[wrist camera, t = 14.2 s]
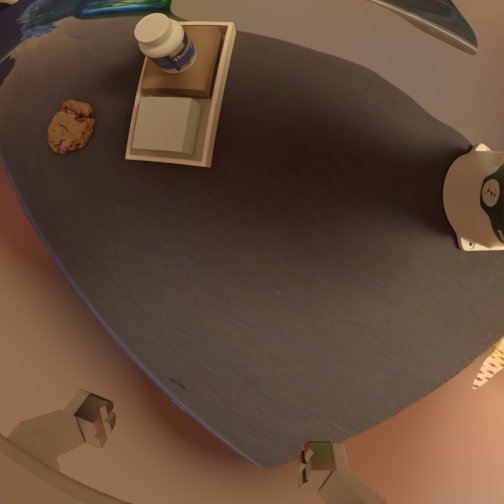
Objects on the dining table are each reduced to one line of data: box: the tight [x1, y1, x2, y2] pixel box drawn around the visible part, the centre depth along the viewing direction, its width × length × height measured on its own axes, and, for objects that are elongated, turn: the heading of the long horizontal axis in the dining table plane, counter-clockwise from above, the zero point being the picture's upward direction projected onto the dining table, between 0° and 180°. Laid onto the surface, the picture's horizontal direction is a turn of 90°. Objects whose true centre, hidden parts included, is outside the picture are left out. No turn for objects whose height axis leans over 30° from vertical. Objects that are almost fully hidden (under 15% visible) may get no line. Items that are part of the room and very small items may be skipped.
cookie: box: [47, 99, 95, 154], centre depth 39 cm, size 10×11×3 cm
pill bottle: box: [134, 13, 196, 74], centre depth 27 cm, size 5×5×10 cm
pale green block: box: [132, 97, 202, 155], centre depth 36 cm, size 7×7×6 cm
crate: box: [125, 22, 236, 168], centre depth 36 cm, size 12×22×4 cm, turn 171°
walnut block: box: [140, 26, 223, 99], centre depth 34 cm, size 9×10×5 cm
